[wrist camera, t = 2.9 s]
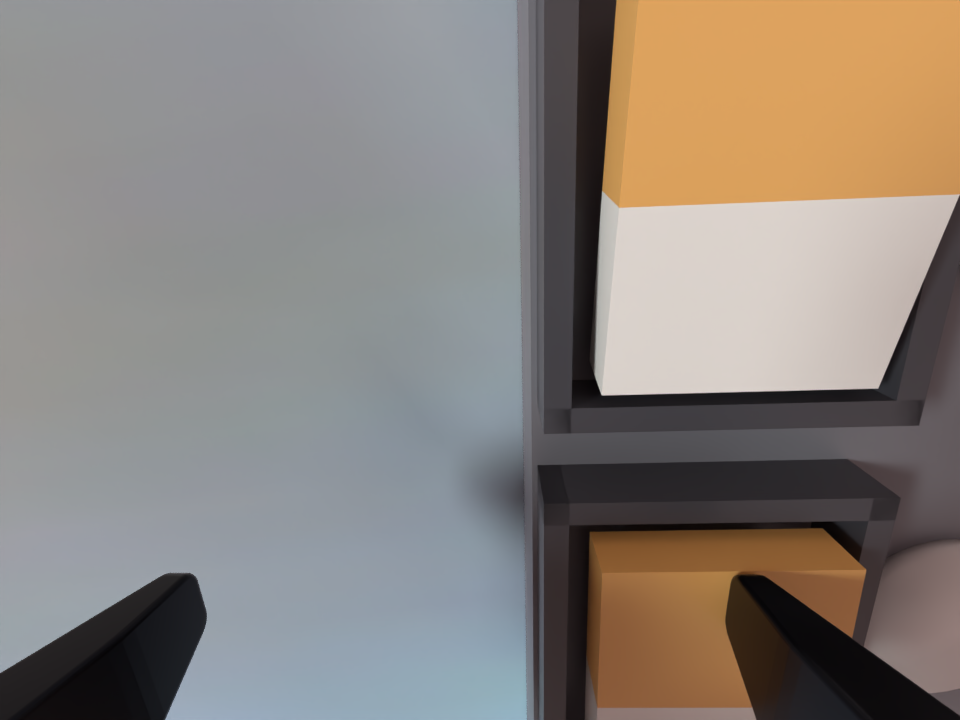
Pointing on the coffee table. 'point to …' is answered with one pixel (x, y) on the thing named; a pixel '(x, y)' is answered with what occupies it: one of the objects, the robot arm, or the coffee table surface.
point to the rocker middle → (694, 614)
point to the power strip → (712, 414)
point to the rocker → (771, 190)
